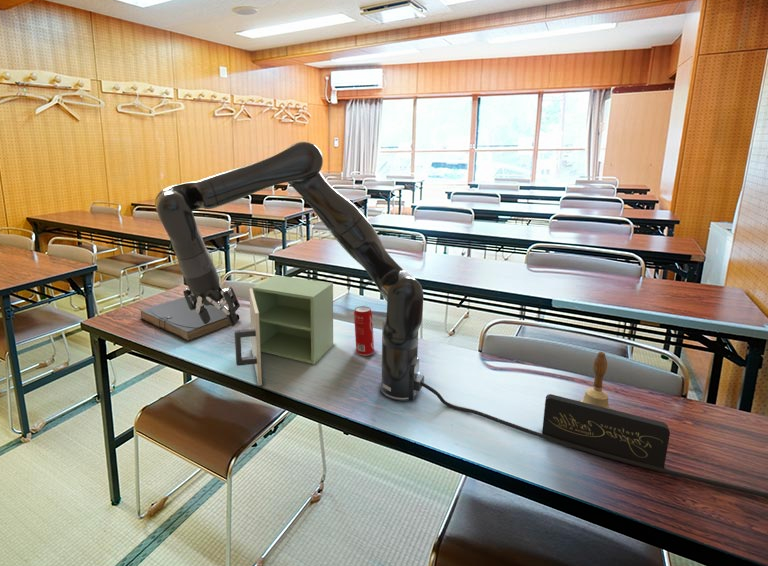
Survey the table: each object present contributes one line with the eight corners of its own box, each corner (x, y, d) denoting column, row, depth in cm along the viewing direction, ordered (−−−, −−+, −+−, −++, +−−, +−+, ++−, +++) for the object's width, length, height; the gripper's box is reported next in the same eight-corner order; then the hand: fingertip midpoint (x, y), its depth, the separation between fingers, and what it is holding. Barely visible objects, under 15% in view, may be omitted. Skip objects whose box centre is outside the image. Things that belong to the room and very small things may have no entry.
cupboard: (314, 364, 132) (313, 296, 128) (254, 350, 142) (251, 287, 138) (333, 345, 145) (333, 282, 140) (277, 333, 155) (275, 275, 151)
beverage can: (374, 357, 136) (374, 312, 133) (353, 355, 137) (353, 311, 134) (374, 348, 141) (374, 305, 138) (354, 347, 143) (354, 304, 140)
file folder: (139, 309, 171) (190, 294, 189) (140, 319, 172) (190, 303, 189) (186, 331, 149) (239, 312, 167) (187, 342, 150) (239, 322, 167)
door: (237, 388, 120) (233, 315, 115) (234, 352, 141) (230, 289, 136) (261, 385, 121) (258, 313, 116) (254, 350, 142) (252, 288, 138)
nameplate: (661, 467, 87) (669, 423, 85) (663, 473, 85) (670, 428, 83) (542, 432, 98) (546, 392, 96) (541, 436, 97) (545, 396, 95)
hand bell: (617, 427, 99) (626, 364, 96) (574, 416, 103) (581, 355, 100) (613, 408, 106) (622, 349, 103) (573, 399, 110) (580, 342, 107)
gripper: (230, 260, 100) (251, 315, 107) (185, 260, 107) (207, 312, 114) (213, 277, 95) (235, 335, 101) (166, 277, 102) (190, 330, 108)
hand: (220, 322), depth 108 cm, fingers open, 8 cm apart
